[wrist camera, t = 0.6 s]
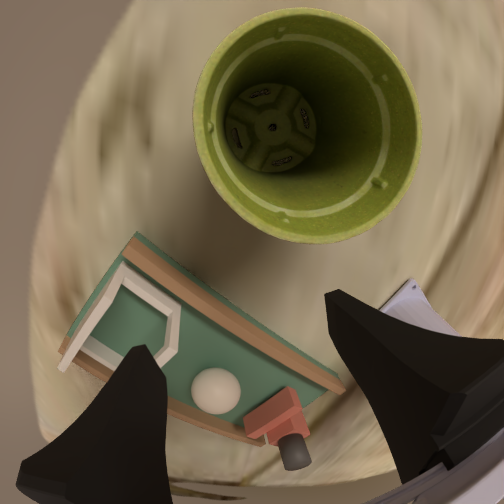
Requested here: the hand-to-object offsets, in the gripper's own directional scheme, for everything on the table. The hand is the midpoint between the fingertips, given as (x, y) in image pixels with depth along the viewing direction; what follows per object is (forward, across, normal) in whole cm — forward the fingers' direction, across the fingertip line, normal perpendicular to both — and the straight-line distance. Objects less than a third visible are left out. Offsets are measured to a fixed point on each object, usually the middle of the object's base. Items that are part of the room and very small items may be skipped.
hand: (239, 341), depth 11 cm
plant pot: (+10, -5, -7) cm, 13 cm away
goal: (+9, +9, +3) cm, 13 cm away
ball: (+7, +4, +10) cm, 13 cm away
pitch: (+10, +4, +10) cm, 15 cm away
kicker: (+8, 0, +17) cm, 19 cm away
